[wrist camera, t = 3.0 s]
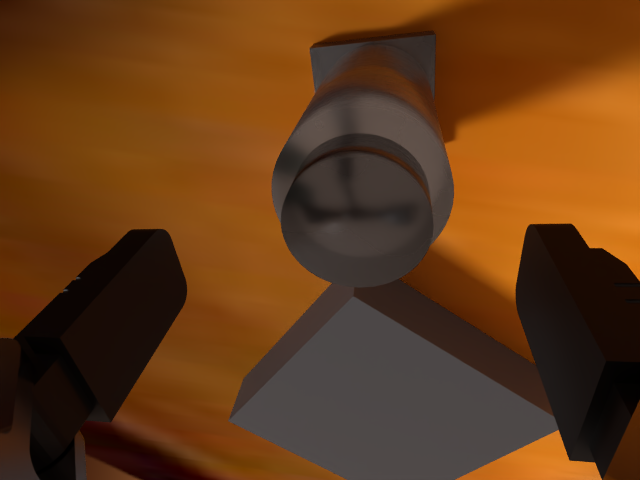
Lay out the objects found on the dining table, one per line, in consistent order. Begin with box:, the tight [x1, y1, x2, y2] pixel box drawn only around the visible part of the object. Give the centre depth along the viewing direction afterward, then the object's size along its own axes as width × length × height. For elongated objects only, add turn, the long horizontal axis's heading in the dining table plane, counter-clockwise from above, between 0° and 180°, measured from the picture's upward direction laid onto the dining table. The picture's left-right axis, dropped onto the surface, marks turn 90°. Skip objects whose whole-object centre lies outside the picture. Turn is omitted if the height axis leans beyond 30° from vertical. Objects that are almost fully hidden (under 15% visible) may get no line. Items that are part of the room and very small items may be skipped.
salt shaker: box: [272, 31, 454, 288], centre depth 14 cm, size 5×5×11 cm
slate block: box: [229, 279, 559, 480], centre depth 28 cm, size 15×15×4 cm
